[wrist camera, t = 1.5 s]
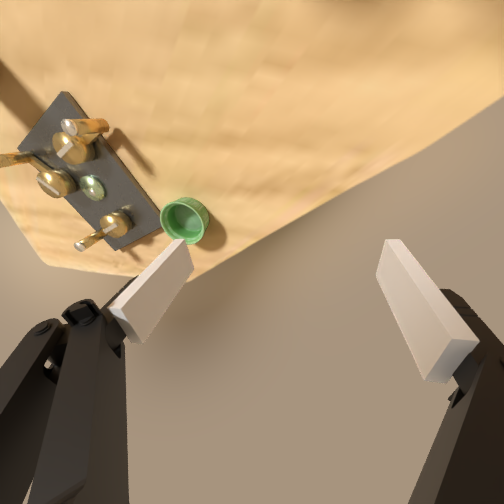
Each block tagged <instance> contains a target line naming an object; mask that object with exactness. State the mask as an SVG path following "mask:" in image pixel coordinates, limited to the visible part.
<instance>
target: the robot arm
mask: <svg viewBox="0 0 504 504" xmlns="http://www.w3.org/2000/svg"><path fill="white" fill-rule="evenodd" d="M193 270H194V266H193V263H192V260H191V257H190V254H189V251H188V247H187V244H186V241H185V239H175V240H174V241H173V242H172V243H171V244H170V245H169V246H168V247H167V248H166V249H165V250H164V251H163V252H162V253H161V254H160V255H159V256H158V257H157V258H156V259H155V260H154V261H153V262H152V263H151V264H150V265H149V266H148V267H147V268H146V269H145V270H144V271H143V272H142V273H141V274H140V275H138V276H136V277H134V278H133V279H132V280H130V281H129V282H128V283H127V284H126V285H125V286H124V288H122V289H121V290H120V291H119V293H117V294H115V295H114V297H112V298H111V299H110V300H109V301H108V302H107V303H106V304H105V305H104V306H103V307H102V308H101V309H99V308H98V306H97V305H96V304H95V302H94V301H93V300H91V299H84V300H81V301H78V302H76V303H74V304H72V305H71V306H69V307H68V308H67V309H66V310H65V311H64V312H63V313H62V317H63V318H64V319H65V320H66V321H67V322H68V324H62V323H61V322H60V321H59V320H58V319H55V318H53V319H48V320H46V321H43V322H41V323H39V324H37V325H36V326H35V327H33V328H32V329H31V330H30V331H29V332H28V333H27V334H26V335H25V337H24V338H23V339H22V341H21V342H20V343H19V345H18V346H17V347H16V349H15V350H14V351H13V352H12V354H11V355H10V356H9V358H8V359H7V360H6V362H5V363H4V364H3V366H2V367H1V368H0V504H22V503H23V501H24V499H25V496H26V494H27V492H28V489H29V487H30V484H31V482H32V480H33V483H32V487H31V491H30V495H29V499H28V503H27V504H129V493H128V491H129V489H128V453H127V452H128V451H127V413H126V377H125V376H126V374H125V345H124V342H123V340H124V338H125V337H126V336H127V337H128V339H129V340H130V342H131V343H138V344H144V342H145V341H146V339H147V338H148V336H149V335H150V333H151V332H152V331H153V329H154V328H155V326H156V325H157V323H158V321H159V320H160V319H161V317H162V316H163V314H164V313H165V311H166V310H167V308H168V307H169V305H170V304H171V303H172V301H173V300H174V298H175V297H176V295H177V294H178V292H179V291H180V289H181V288H182V286H183V285H184V283H185V282H186V280H187V279H188V278H189V276H190V275H191V273H192V272H193ZM376 277H377V279H378V282H379V284H380V286H381V289H382V291H383V293H384V295H385V297H386V299H387V301H388V304H389V306H390V308H391V310H392V312H393V315H394V317H395V319H396V321H397V323H398V325H399V328H400V329H401V332H402V334H403V336H404V338H405V341H406V343H407V345H408V347H409V349H410V351H411V353H412V356H413V358H414V360H415V362H416V364H417V367H418V369H419V371H420V373H421V375H422V377H423V380H424V381H431V382H439V383H447V382H448V381H449V379H450V378H451V377H452V376H454V378H455V380H456V382H457V384H458V385H459V387H458V388H457V389H456V390H455V391H454V392H453V394H452V395H451V396H450V397H449V398H448V400H449V401H451V402H450V404H449V407H448V409H447V412H446V414H445V416H444V419H443V421H442V424H441V426H440V428H439V431H438V433H437V436H436V438H435V440H434V443H433V445H432V447H431V450H430V452H429V455H428V457H427V459H426V463H425V464H424V467H423V469H422V471H421V474H420V476H419V479H418V481H417V483H416V486H415V488H414V490H413V493H412V495H411V498H410V500H409V503H408V504H504V345H503V344H502V343H501V342H500V341H499V339H498V338H497V337H496V336H495V335H494V333H493V332H492V331H491V330H490V329H489V328H488V327H487V325H486V324H485V323H484V322H483V321H482V320H481V319H480V318H479V317H478V315H477V314H476V313H475V312H474V311H473V309H471V307H470V306H469V305H468V304H467V303H466V302H465V300H464V299H463V298H462V297H460V296H459V295H457V294H456V293H455V292H453V291H451V290H450V289H439V288H438V287H437V286H436V285H435V283H434V282H433V281H432V280H431V278H430V277H429V276H428V274H427V273H426V272H425V271H424V269H423V268H422V267H421V266H420V264H419V263H418V262H417V260H416V259H415V258H414V257H413V255H412V254H411V253H410V252H409V250H408V249H407V248H406V246H405V245H404V244H403V243H402V242H401V240H400V239H389V240H387V239H386V240H385V243H384V247H383V251H382V254H381V258H380V261H379V265H378V268H377V272H376ZM46 360H49V361H50V362H51V363H52V364H51V365H50V367H49V368H46V367H45V366H44V364H45V362H46ZM33 478H34V479H33Z"/></svg>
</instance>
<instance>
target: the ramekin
mask: <svg viewBox="0 0 504 504" xmlns="http://www.w3.org/2000/svg"><path fill="white" fill-rule="evenodd" d="M160 222H161V225H162V228H163V229H164V231H165V232H166V234H167V235H168V236H169V237H170V238H172V239H173V240H175V239H185V241H186V244H187V245H190V244H195V243H197V242H199V241H200V240H201V239H202V237H203V235H204V232H205V230H206V229H207V227H208V224H209V215H208V212H207V210H206V208H205V207H204V206H203V205H202V204H201V203H200V202H199V201H197V200H195V199H193V198H187V197H186V198H180V199H178V200H176V201H174V202H170V203H168V204H167V205H165V206H164V207H163V209H162V211H161V214H160Z"/></svg>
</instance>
